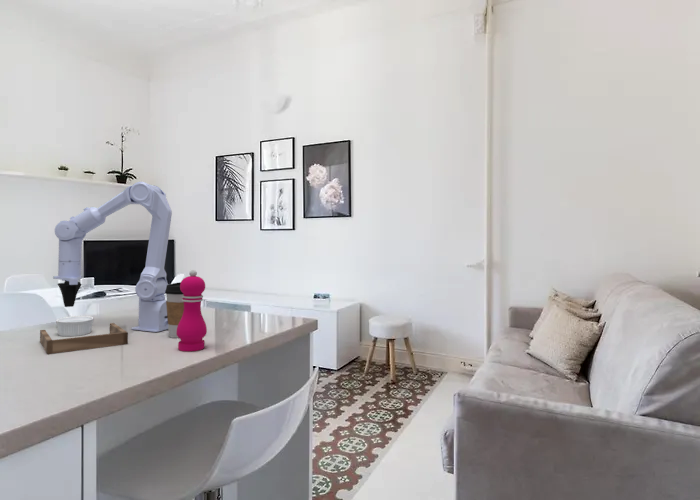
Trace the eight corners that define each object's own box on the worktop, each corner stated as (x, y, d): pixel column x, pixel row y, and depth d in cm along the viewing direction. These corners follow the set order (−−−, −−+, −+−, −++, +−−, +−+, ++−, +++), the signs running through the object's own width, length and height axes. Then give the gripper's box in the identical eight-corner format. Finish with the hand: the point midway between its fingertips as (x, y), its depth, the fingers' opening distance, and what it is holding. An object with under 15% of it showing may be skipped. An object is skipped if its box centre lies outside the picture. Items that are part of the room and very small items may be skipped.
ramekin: (100, 332, 121) (100, 317, 121) (68, 338, 113) (68, 322, 113) (80, 329, 124) (80, 314, 124) (48, 334, 116) (48, 319, 116)
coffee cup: (202, 334, 122) (203, 283, 122) (181, 340, 114) (182, 285, 114) (178, 331, 125) (179, 281, 124) (157, 337, 117) (158, 283, 116)
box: (40, 341, 108) (40, 330, 108) (113, 333, 120) (113, 323, 120) (47, 354, 97) (47, 341, 97) (127, 343, 109) (127, 332, 108)
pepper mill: (181, 344, 109) (182, 268, 109) (209, 345, 110) (211, 269, 110) (171, 352, 102) (173, 270, 102) (202, 352, 103) (204, 271, 102)
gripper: (50, 260, 128) (49, 304, 129) (57, 263, 117) (56, 311, 118) (77, 260, 133) (76, 302, 133) (86, 262, 122) (85, 309, 122)
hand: (69, 306), depth 126 cm, fingers closed
